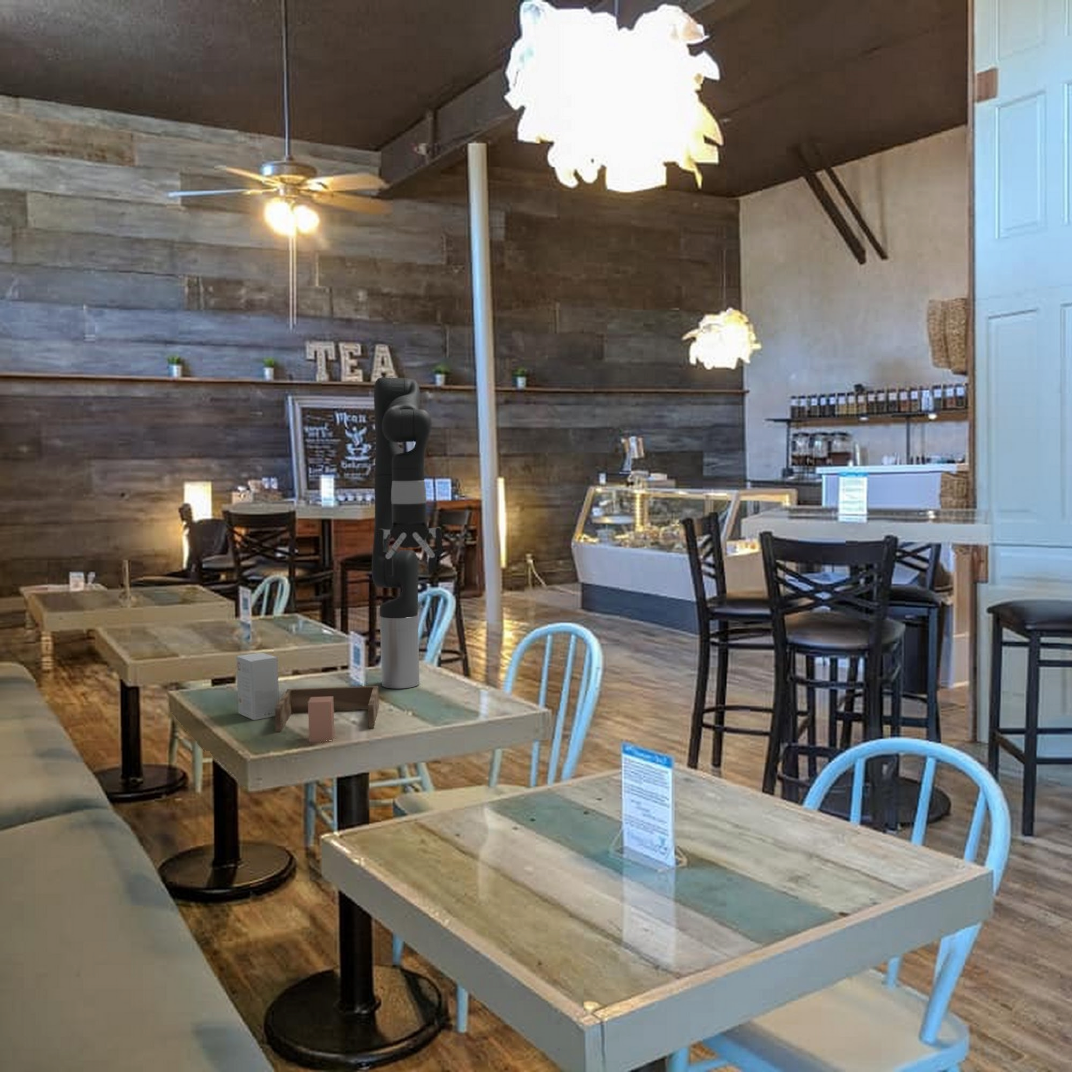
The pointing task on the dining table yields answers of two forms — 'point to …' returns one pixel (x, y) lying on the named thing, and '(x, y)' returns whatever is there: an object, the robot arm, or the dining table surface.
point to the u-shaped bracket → (341, 697)
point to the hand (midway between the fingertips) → (410, 575)
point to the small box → (257, 685)
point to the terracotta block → (321, 718)
